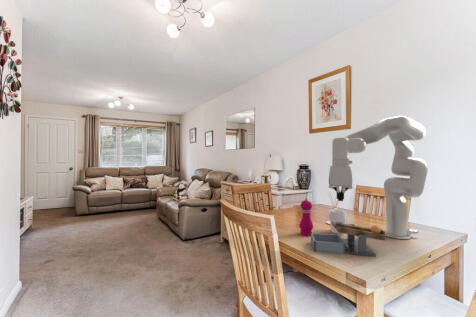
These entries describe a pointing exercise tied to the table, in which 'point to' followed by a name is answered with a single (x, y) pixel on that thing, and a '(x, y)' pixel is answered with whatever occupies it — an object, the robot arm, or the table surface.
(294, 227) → the table surface
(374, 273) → the table surface
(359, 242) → the stand
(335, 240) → the bin
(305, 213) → the pepper mill
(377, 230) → the ball
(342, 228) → the tray
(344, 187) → the robot arm
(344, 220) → the cup
